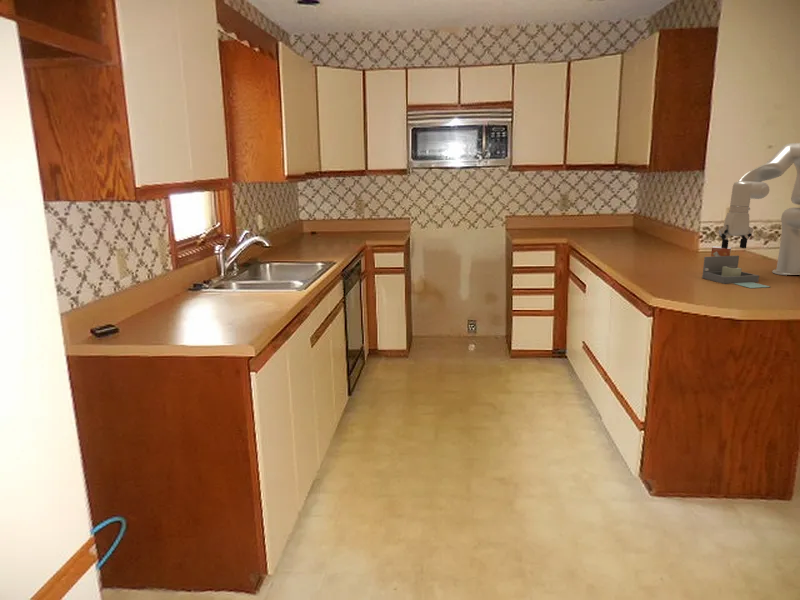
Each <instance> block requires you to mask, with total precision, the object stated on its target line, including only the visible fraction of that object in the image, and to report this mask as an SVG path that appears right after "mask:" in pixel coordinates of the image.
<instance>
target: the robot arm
mask: <svg viewBox="0 0 800 600" xmlns="http://www.w3.org/2000/svg"><path fill="white" fill-rule="evenodd" d="M792 165H794V166H795V169H796V178H795V181H794V184H793V185H794V186H793V188H792V192H791V196H790V201H791V202H792V203H793V204H794V205H798V206H800V142H792V143H791V142H789V143H787V144H786V143H785V144H784V145H782V146H781V147H780V148H779V149H778V150H777V151H776V152H775V153H774V155H773V156H772V157H771V158H769V159H768V161H767V162H766V163H764V164H762V165H760V166H758V167H756V168H754V169H752V170H749V171H748V172H746V173H745V174H743V175H742V177H740V178H739V180H738V181H736V182H733V184H732V188H731V189H732V190H731V195H730V205H729V209H728V210H729V211H728V212H727V213H726V216H725V219H724V221H723V226H722V227H721V228H719V229H718V234H719V237H720V239H721V240H722V241H721V245H720V246H721V248H725V249H727V248H728V247H729V241H730V240H729V238H730V237H731V236H739V237H741V238H740V243H739V249H747V243H748V240H749V239H750V237H751V236H752V234H753V232H754V229H753V228H752V227H750V213H749V211H751V208H750V204H751V199H754V200H755V199H756V200H760V199H764V198H765V197H767V196H768V194H769V193H770V186H769V184H767V183H766V182H765V181H769V180H774V179H776V178H779V177H781V176H782V175H784V173H785V172H786V171H787V170H788V169H789V168H790V167H791V166H792ZM780 219H781V236H780V242H779V250H778V257H777V263H776V268H775V269H773V270H772V271H771V272H772V273H773V274H775V275H779V276H780V275H781V276H787V275H800V207H790V208H786V209H785V210H784V211H783V212H782V214H781V218H780Z"/></svg>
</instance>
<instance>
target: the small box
mask: <svg viewBox="0 0 800 600" xmlns="http://www.w3.org/2000/svg"><path fill="white" fill-rule="evenodd" d="M721 246H722V245H720V246H719V245H718V246H716V245H712V248H711V253H710V257H713V256H731V253H732V252H731V250H732V247H731V246H728V248H727V249H725V248H721Z"/></svg>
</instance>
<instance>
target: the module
mask: <svg viewBox="0 0 800 600" xmlns="http://www.w3.org/2000/svg"><path fill="white" fill-rule="evenodd" d="M742 270H743V268H740V267H739V266H738V267H735V266H725V267H722V275H721V276H724V277H730V276H741V271H742ZM742 272H743V271H742Z"/></svg>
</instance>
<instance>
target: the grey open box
mask: <svg viewBox="0 0 800 600" xmlns="http://www.w3.org/2000/svg"><path fill="white" fill-rule="evenodd" d="M703 260H704V261H703V267H702V268H703V269H702V277H701V279H704V280H708V281H712V282H716V283H720V284H723V285H729V284H733V283H747V282H754V283H759V281H760V275H758V274H754V273H752V272H751V273H750V272H746V271H741V276H730V277H724V276H721V275H722V267H725V266H735V267H738V268H739V260H740V255H738V254H737V255H730V256H713V257H711V256H704V259H703Z"/></svg>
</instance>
